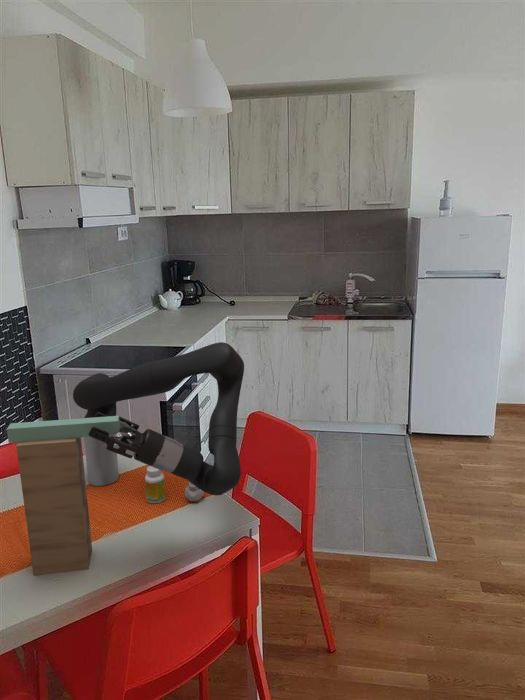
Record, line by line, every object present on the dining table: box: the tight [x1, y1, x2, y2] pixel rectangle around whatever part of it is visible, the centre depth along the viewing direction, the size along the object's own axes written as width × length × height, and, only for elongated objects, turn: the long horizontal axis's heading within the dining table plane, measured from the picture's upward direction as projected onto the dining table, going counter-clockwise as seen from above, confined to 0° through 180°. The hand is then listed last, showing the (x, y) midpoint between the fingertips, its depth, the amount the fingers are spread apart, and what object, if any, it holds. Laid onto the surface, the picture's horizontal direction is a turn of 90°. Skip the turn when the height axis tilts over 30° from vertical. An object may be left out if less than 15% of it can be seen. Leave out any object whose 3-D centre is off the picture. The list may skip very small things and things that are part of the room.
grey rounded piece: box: [184, 480, 205, 502], centre depth 151 cm, size 5×7×8 cm
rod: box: [6, 415, 120, 444], centre depth 117 cm, size 3×23×3 cm, turn 100°
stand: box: [16, 437, 93, 576], centre depth 121 cm, size 7×12×32 cm, turn 100°
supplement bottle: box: [144, 465, 166, 504], centre depth 151 cm, size 5×5×10 cm
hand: (92, 423), depth 117 cm, fingers open, 8 cm apart
